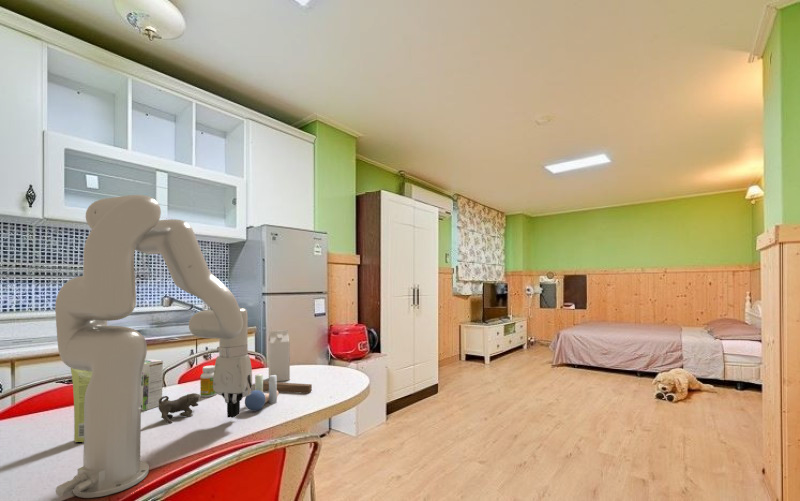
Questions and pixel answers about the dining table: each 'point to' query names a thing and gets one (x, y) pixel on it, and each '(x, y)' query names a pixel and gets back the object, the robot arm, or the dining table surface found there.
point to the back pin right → (272, 389)
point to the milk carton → (279, 355)
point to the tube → (79, 401)
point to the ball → (255, 400)
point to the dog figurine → (178, 406)
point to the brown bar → (290, 387)
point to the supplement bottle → (207, 382)
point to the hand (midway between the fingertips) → (233, 415)
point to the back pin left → (259, 382)
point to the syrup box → (151, 384)
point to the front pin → (268, 397)
